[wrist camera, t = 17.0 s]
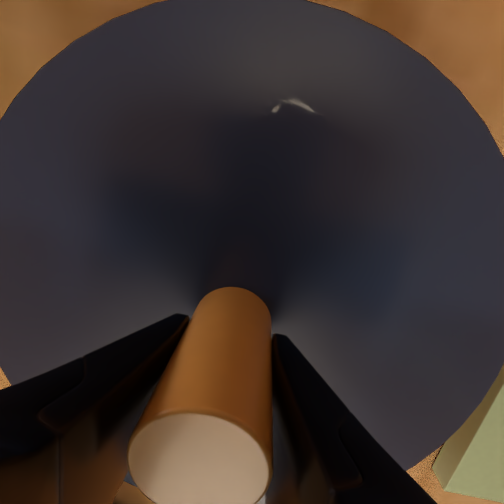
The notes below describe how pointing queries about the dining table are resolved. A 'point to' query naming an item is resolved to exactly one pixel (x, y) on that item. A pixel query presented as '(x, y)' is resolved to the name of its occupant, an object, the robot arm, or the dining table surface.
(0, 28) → the dining table surface
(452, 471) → the board
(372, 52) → the lid
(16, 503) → the robot arm
